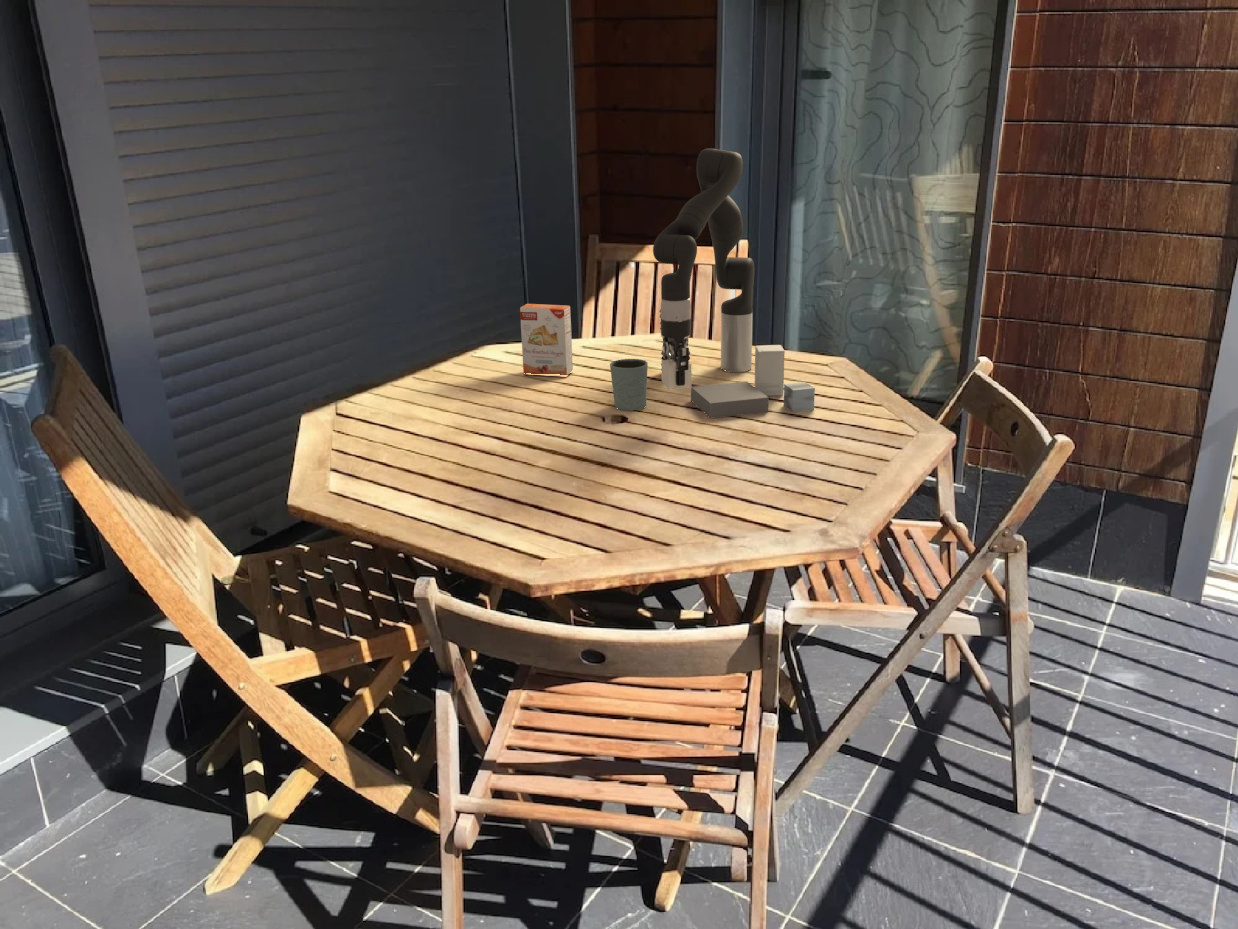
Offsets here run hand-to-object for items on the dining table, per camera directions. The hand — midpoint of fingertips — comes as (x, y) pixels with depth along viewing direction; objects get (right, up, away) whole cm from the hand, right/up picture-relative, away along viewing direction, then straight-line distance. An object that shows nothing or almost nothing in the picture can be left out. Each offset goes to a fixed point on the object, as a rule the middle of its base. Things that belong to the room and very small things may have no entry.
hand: (676, 381), depth 263 cm
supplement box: (+27, -1, +26) cm, 38 cm away
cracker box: (-36, +6, +49) cm, 61 cm away
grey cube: (+33, -6, +12) cm, 36 cm away
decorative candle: (+2, +5, +46) cm, 46 cm away
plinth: (+15, -6, +15) cm, 21 cm away
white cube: (0, -1, 0) cm, 1 cm away
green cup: (-12, -6, +17) cm, 22 cm away
